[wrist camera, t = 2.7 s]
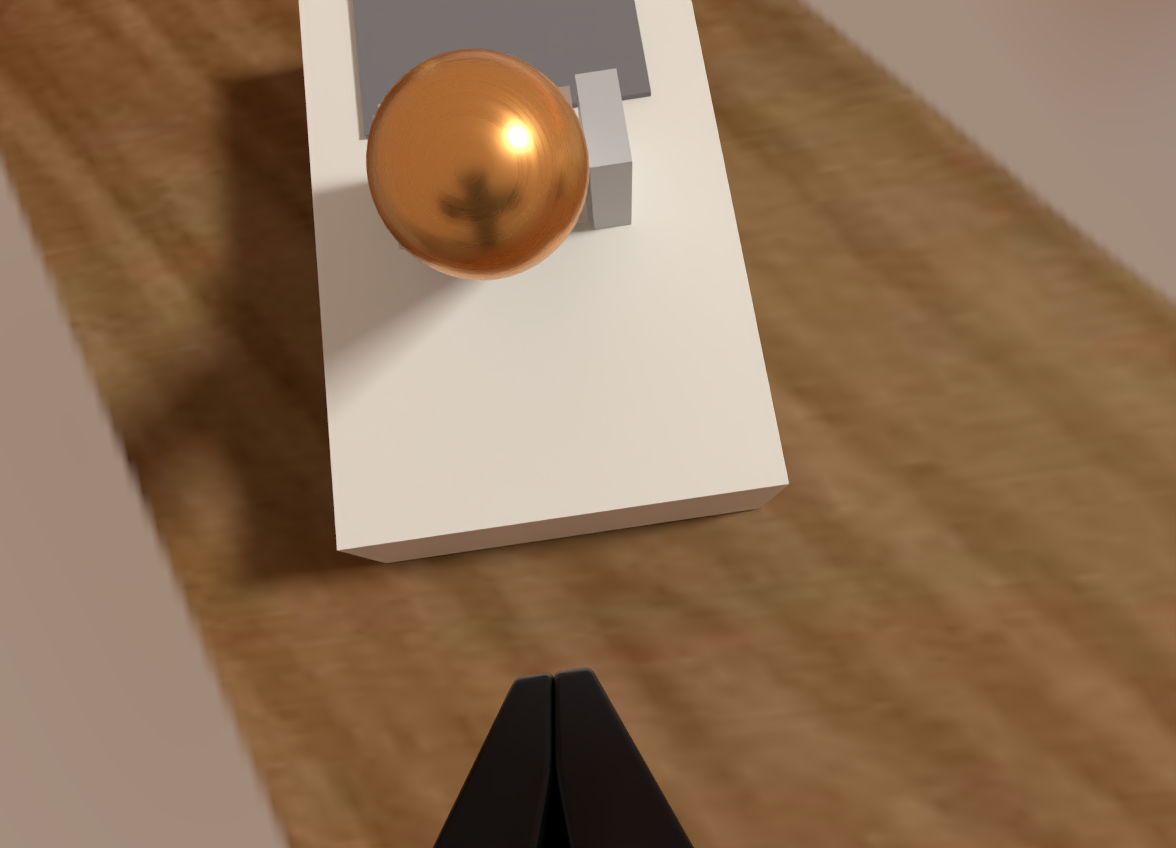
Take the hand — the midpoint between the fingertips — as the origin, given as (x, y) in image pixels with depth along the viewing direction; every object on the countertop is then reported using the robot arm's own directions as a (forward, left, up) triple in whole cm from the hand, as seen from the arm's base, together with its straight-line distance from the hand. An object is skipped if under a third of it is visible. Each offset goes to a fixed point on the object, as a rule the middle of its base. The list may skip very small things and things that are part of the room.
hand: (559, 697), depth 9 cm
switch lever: (+9, -5, -6) cm, 11 cm away
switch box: (+9, -5, -10) cm, 14 cm away
